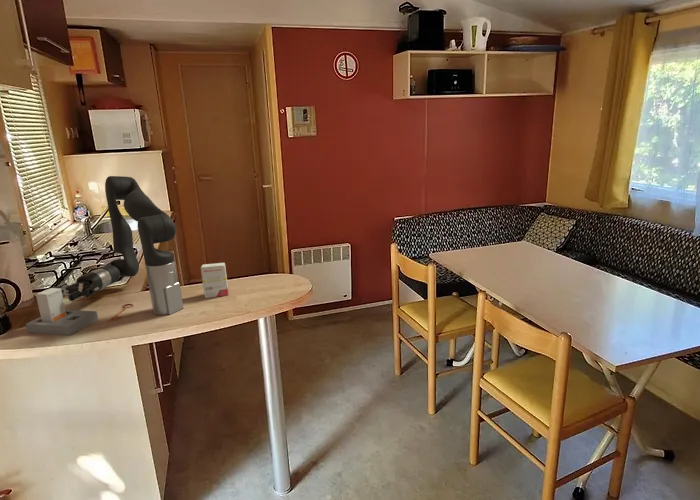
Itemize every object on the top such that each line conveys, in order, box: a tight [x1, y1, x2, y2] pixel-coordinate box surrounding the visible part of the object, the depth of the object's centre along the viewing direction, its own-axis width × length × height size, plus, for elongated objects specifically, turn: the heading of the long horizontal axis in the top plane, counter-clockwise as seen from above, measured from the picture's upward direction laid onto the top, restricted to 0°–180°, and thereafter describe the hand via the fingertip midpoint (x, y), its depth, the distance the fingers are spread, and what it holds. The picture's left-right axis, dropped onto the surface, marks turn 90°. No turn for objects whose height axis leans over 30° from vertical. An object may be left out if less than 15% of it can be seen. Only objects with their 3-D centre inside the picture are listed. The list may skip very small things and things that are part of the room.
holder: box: [25, 309, 99, 336], centre depth 151 cm, size 16×12×3 cm
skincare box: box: [35, 287, 67, 323], centre depth 151 cm, size 6×4×12 cm
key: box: [107, 303, 135, 323], centre depth 160 cm, size 6×1×15 cm
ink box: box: [200, 262, 229, 299], centre depth 172 cm, size 9×5×12 cm, turn 102°
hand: (58, 297), depth 153 cm, fingers open, 8 cm apart
